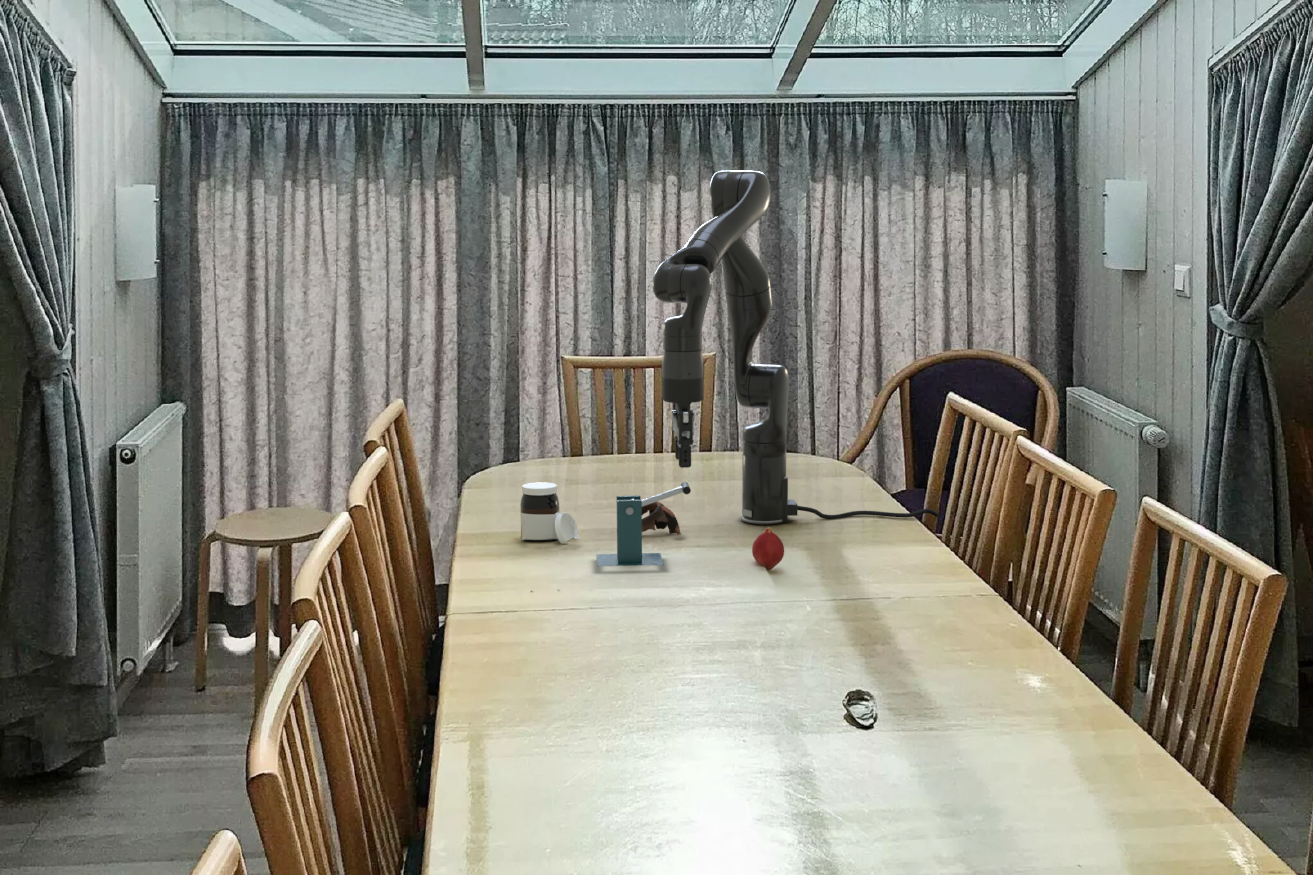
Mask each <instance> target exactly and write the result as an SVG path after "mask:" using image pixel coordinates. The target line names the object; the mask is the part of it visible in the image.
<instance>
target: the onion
mask: <svg viewBox="0 0 1313 875" xmlns="http://www.w3.org/2000/svg"><path fill="white" fill-rule="evenodd" d="M751 546H752V547H751V554H752V557H753V559H754V560H755V562H756V563H757V564H758V565H761V566H764V568H765V570H766V571H771V570H773V569H774V568H775V567H776V566H778V565H779V564H780V563H781V561H782V560H783V558H784V556H785V545H784V543H783V541H782V539H781V538H780V537H779V536H778V535H777V534H776V533H775V532H773V530H772V528H771V527H766V528H765V530H764V531H763V532H762V533H761V534H759V535H758V536H757V537H756V538H755V540H754V541H753V543H752V545H751Z"/></svg>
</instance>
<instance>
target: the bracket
mask: <svg viewBox="0 0 1313 875" xmlns="http://www.w3.org/2000/svg"><path fill="white" fill-rule="evenodd" d="M633 498H634V500H630V499H633ZM642 500H643V499H641V495H640V494H639V495H638V494H636V495H616V553H601V554H600V553H597V554H596V566H597V567H628V566H629V567H630V566H631V567H633V566H634V567H637V566H664V560H663V558H662V557H663V556H662V553H661V552H648V553H647V552H646V553H645V552H643V532H642V519H643V515H642Z"/></svg>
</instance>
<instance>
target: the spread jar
mask: <svg viewBox="0 0 1313 875" xmlns="http://www.w3.org/2000/svg"><path fill="white" fill-rule="evenodd" d="M521 492H522V493H521V494H522V496H521V499H520V510H519V511H520V539H521V540H522V541H523V542H524V543H525V542H526V543H552V542H557V541H559V543H560V544H561V545H569V544H570V543H569V542H568V541H570V540H571V539H575V540H576V539H577V540H579V528H578V525H577V523H576V520H575V518H574V517H573V516H572V515H571V513H569V512H567V511H564V512H561V513H560V499H559V496H558V494H557V493H558V484H556V483H554V482H545V481H544V482H543V481H538V482H528V483H524V484H522V485H521Z"/></svg>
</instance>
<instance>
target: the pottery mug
mask: <svg viewBox="0 0 1313 875" xmlns="http://www.w3.org/2000/svg"><path fill="white" fill-rule="evenodd" d="M647 513H648V515H647V516H645V517H642V533H644V532H646V531H649V530H651V531H657V530H665V529H666V528H668V533H669V534H670V535H672V534H676V535H680V536H681V535H682V533H681V529H680V525H679V524H680V523H679V522H678V519H677V517H676V515H675V514H674V512H673V511H672V509H670V508H668V507H667V506H666V505H664V504H663V503H662V502H660V501H657V502H654V503H651V504H648V505H645V506H642V516H644V514H647Z"/></svg>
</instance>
